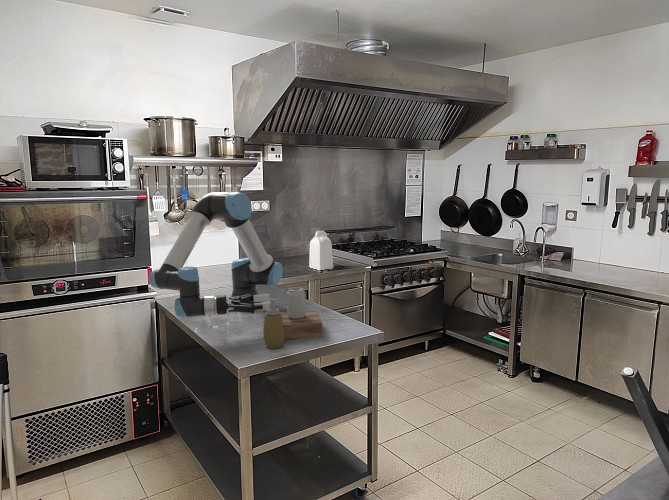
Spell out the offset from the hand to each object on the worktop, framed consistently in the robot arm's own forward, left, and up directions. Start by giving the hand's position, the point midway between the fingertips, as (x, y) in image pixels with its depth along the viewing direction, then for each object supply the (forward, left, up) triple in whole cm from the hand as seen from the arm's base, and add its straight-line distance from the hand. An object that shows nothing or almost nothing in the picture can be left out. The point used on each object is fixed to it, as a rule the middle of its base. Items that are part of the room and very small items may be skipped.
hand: (270, 301), depth 192 cm
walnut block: (0, +10, -13) cm, 17 cm away
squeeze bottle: (+15, 0, -14) cm, 20 cm away
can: (0, +10, -8) cm, 13 cm away
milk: (-128, +40, -14) cm, 135 cm away
